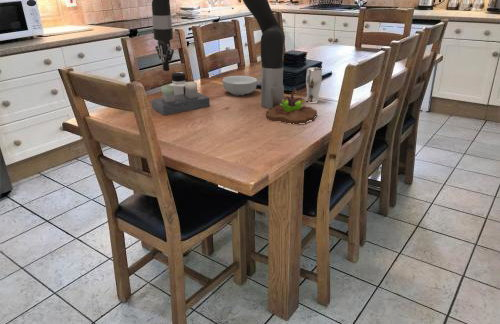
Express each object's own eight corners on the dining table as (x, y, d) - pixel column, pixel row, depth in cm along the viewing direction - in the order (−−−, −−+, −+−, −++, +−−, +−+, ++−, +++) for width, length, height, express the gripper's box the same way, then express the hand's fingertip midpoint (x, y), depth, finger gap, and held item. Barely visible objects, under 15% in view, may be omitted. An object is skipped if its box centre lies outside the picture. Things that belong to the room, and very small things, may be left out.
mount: (209, 106, 179) (209, 97, 178) (163, 115, 168) (162, 106, 166) (196, 100, 188) (196, 91, 186) (152, 108, 177) (151, 99, 175)
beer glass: (302, 102, 184) (304, 69, 178) (307, 98, 190) (309, 66, 184) (317, 104, 182) (319, 71, 175) (322, 100, 187) (324, 68, 181)
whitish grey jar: (199, 98, 179) (199, 83, 176) (189, 100, 176) (188, 85, 173) (194, 95, 183) (193, 81, 180) (183, 97, 180) (182, 82, 177)
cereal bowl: (242, 100, 188) (242, 85, 185) (215, 94, 197) (215, 80, 194) (263, 92, 200) (264, 78, 197) (237, 87, 209) (237, 73, 206)
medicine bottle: (184, 101, 187) (182, 75, 182) (170, 100, 188) (167, 74, 183) (189, 96, 193) (188, 71, 188) (175, 96, 195) (173, 71, 189)
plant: (323, 114, 170) (325, 88, 166) (304, 128, 155) (306, 99, 150) (280, 107, 180) (281, 82, 175) (259, 119, 164) (259, 92, 160)
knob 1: (177, 102, 173) (175, 87, 170) (165, 104, 170) (164, 88, 168) (171, 99, 177) (170, 84, 174) (160, 101, 174) (159, 86, 171)
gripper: (178, 28, 158) (181, 72, 165) (164, 24, 168) (167, 66, 175) (160, 29, 154) (164, 75, 161) (147, 26, 164) (151, 69, 171)
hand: (166, 70), depth 168 cm, fingers closed
